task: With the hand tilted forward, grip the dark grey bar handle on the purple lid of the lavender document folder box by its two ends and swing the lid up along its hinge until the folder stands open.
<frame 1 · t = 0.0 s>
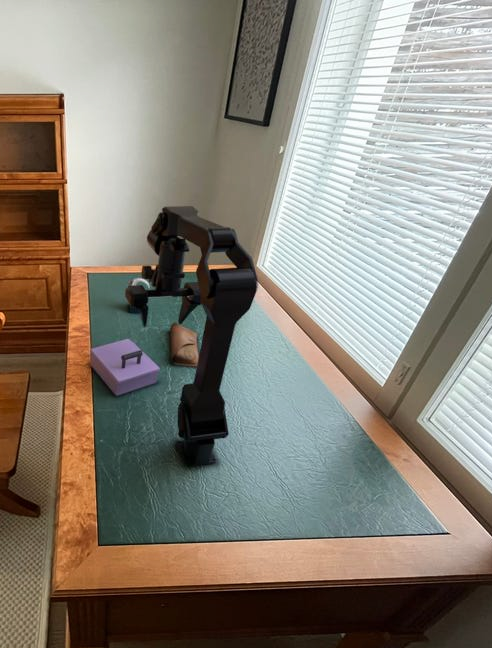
hand: (162, 324, 95), 15 cm above the table, tool pointing down, fingers open, 9 cm apart
folder box: (122, 373, 102), on the table
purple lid: (124, 353, 98), point 7 cm above the table, hinge at 0.0°
sunglasses case: (183, 348, 113), on the table
watch: (135, 309, 131), on the table
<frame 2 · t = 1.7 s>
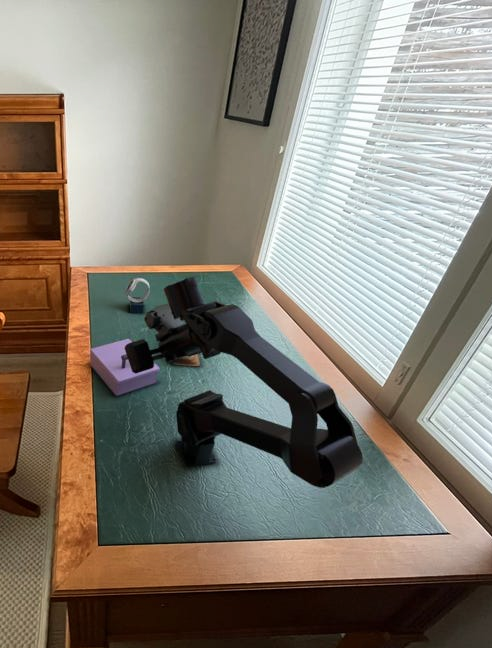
hand: (149, 355, 87), 13 cm above the table, tool tilted 45°, fingers open, 9 cm apart
nothing on the table moved.
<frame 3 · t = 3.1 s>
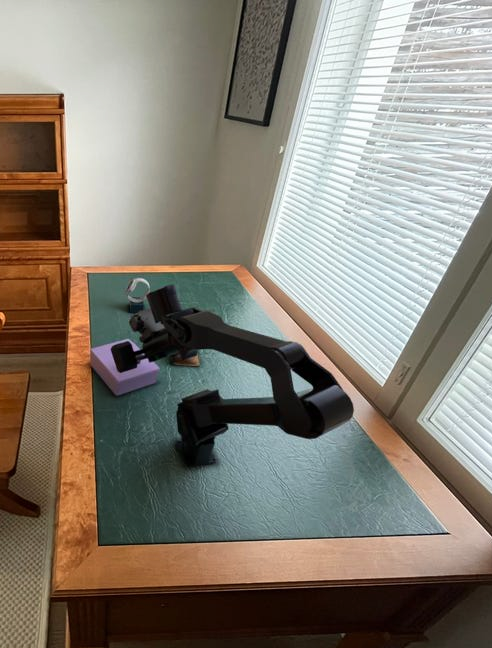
hand: (135, 356, 93), 9 cm above the table, tool tilted 45°, fingers open, 9 cm apart
nothing on the table moved.
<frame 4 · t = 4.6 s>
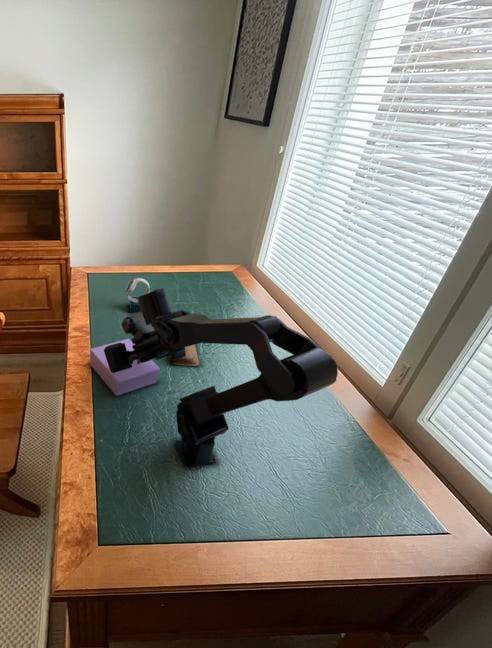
hand: (128, 357, 97), 7 cm above the table, tool tilted 45°, fingers closed on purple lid, 5 cm apart
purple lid: (124, 353, 98), point 7 cm above the table, hinge at 0.0°, touching gripper
everything else where it was.
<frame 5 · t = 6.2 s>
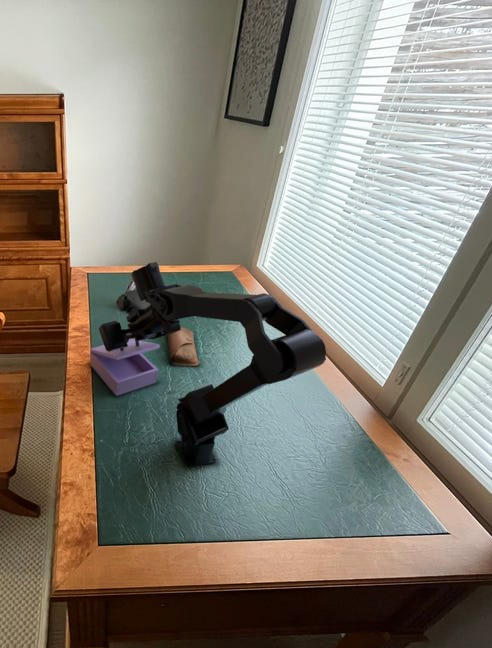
hand: (124, 338, 96), 11 cm above the table, tool tilted 45°, fingers closed on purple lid, 5 cm apart
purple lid: (122, 341, 98), point 10 cm above the table, hinge at 24.6°, touching gripper
everything else where it was.
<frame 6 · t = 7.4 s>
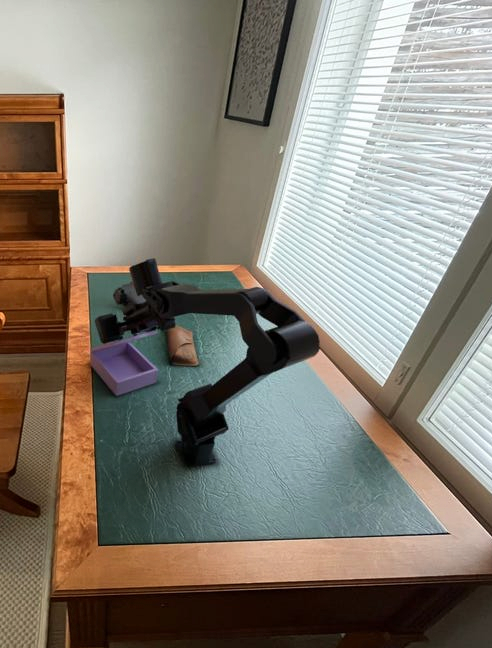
hand: (119, 329, 97), 12 cm above the table, tool tilted 50°, fingers closed on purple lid, 5 cm apart
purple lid: (120, 334, 98), point 11 cm above the table, hinge at 38.1°, touching gripper
everything else where it was.
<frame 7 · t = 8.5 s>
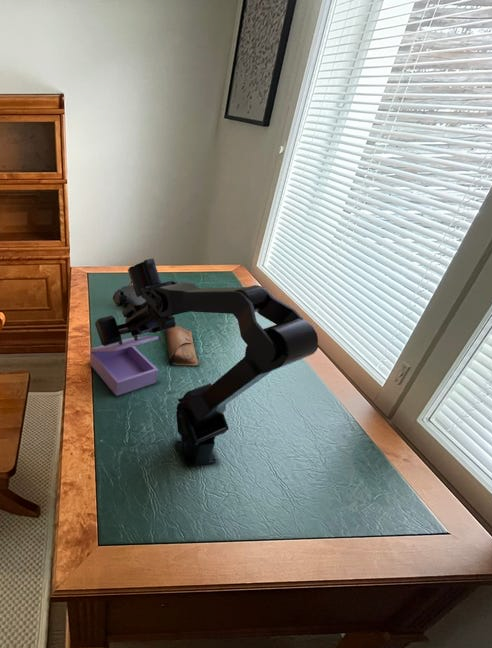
hand: (120, 333, 97), 11 cm above the table, tool tilted 45°, fingers open, 9 cm apart
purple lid: (121, 336, 98), point 10 cm above the table, hinge at 32.9°
everything else where it was.
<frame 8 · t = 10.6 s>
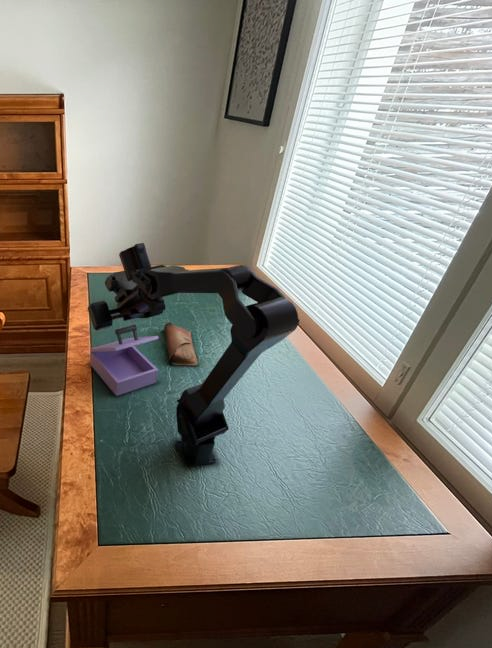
hand: (113, 319, 99), 13 cm above the table, tool tilted 45°, fingers open, 9 cm apart
at the end: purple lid at +33° (first picture: +0°) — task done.
